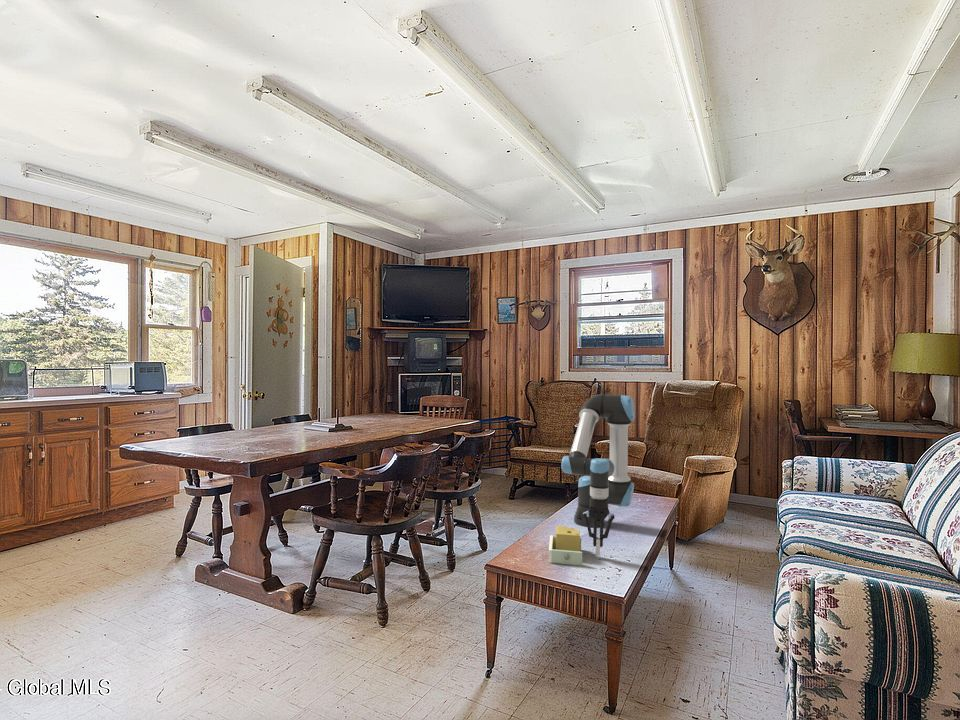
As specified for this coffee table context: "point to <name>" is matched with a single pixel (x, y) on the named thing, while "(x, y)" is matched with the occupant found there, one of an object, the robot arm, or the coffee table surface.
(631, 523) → the coffee table surface
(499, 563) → the coffee table surface
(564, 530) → the cheese
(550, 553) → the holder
